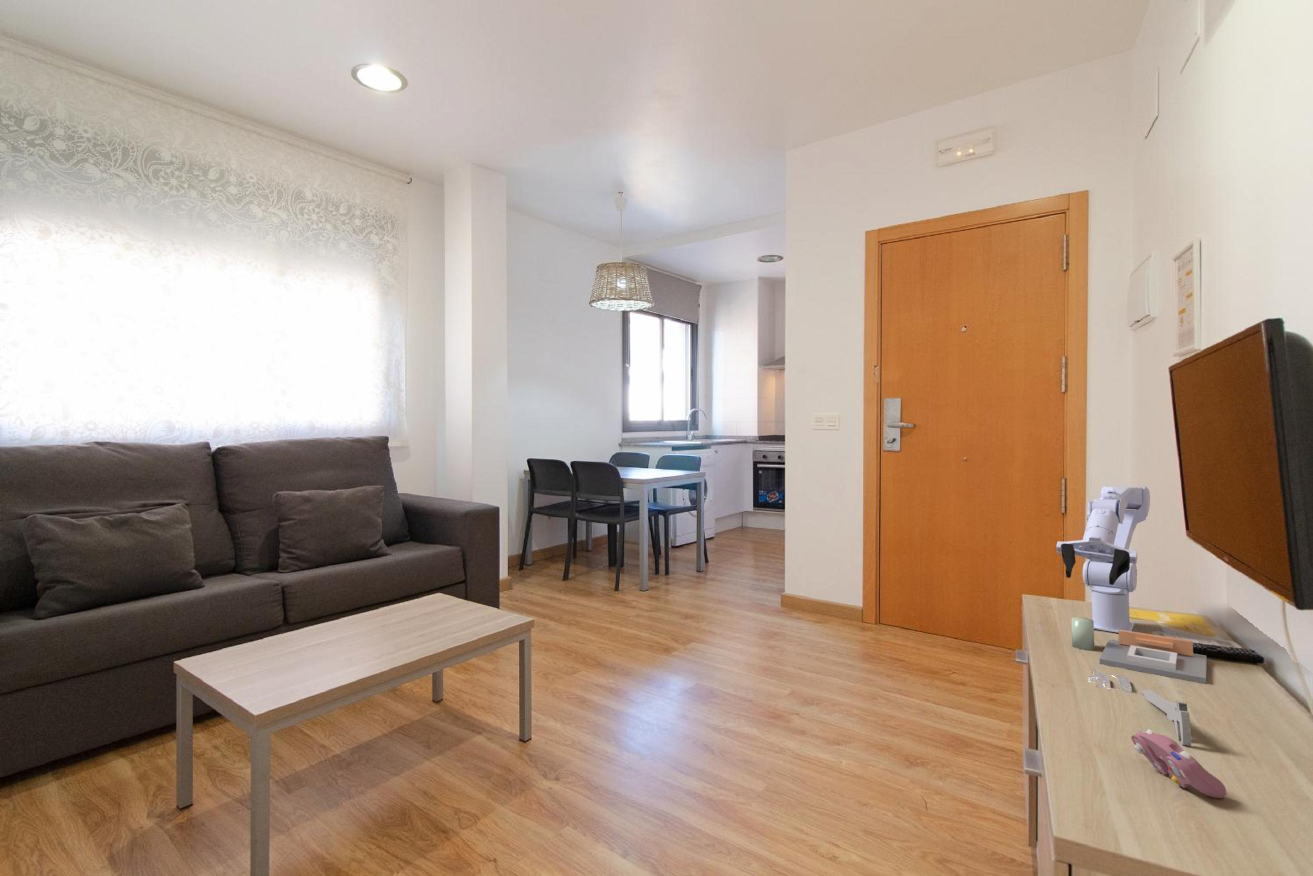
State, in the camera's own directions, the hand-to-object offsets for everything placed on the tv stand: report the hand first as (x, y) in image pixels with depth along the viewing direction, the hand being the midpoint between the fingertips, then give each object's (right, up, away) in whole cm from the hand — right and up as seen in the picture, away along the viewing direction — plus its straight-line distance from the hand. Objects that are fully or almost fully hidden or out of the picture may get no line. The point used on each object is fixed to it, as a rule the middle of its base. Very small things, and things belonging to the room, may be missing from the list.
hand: (1089, 577), depth 130 cm
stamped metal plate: (-8, -17, -15) cm, 24 cm away
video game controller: (-23, -17, -48) cm, 55 cm away
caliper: (-9, -17, -30) cm, 36 cm away
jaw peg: (+1, -16, +3) cm, 16 cm away
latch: (+11, -14, -3) cm, 18 cm away
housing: (+8, -16, -7) cm, 19 cm away
